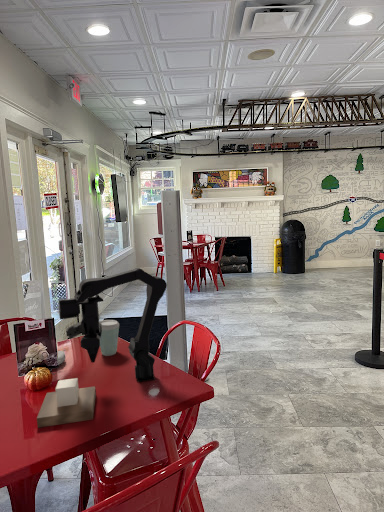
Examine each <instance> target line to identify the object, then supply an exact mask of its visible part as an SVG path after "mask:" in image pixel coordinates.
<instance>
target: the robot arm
mask: <svg viewBox="0 0 384 512" xmlns="http://www.w3.org/2000/svg"><path fill="white" fill-rule="evenodd" d="M135 281H140V282H142V283H143V284H145V285H146V289H145V290H146V291H145V292H146V300H145V303H144V304H145V305H144V308H143V312H142V315H141V319H140V323H139V326H138V330H137V334H136V335H135V336H134V337H130V342H129V345H128V346H127V348H128V351H129V352H128V353H129V354H130V356H131V357H132V359H133V360H134V361H135V362H136V363H135V365H134V374H135V379H136V381H137V383H140V382H148V381H153V380H156V377H155V374H154V373H155V372H154V364H155V360H156V358H154V357H153V356H152V354H151V353H150V342H149V341H150V339H149V338H150V334H151V330H152V328H153V327H152V326H153V323H154V319H155V316H156V312H157V308H158V304H159V302H160V300H161V299H162V298H163V296H164V294H165V292H166V289H167V287H168V284H167V282H166V280H165V279H164V278H161V277H159V276H157V275H151V274H150V273H149V272H148V273H147V272H146V271H144V270H143V269H141V268H140V267H134V268H132V269H129V270H127V271H123V272H119V273H115V274H112V275H108V276H106V277H94V278H93V277H91V278H85V279H82V280H81V281H80V283H79V285H78V290H77V291H76V292H75V295H74V296H73V298H61V299H58V314H59V315H58V316H59V319H60V320H66V319H67V320H68V319H72V318H78V316H80V314H81V320H80V321H79V322H77V323H75V324H72V325H70V326H68V327H66V330H65V333H66V337H68V338H69V340H72V339H73V338H75V337H77V336H79V335H81V336H82V337H81V338H80V348H81V349H84V350H86V351H87V354H88V356H89V360H90V363H93V364H94V363H95V362H96V358H97V356H98V353H99V349H100V338H101V334H102V324H100V323H99V321H100V315H99V312H100V311H99V303H100V302H101V303H102V302H104V298H102V297H101V296H100V294H102V293H103V292H105V291H106V290H108V289H111V288H114V287H117V286H121V285H124V284H128V283H130V282H131V283H132V282H135Z"/></svg>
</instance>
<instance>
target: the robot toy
mask: <svg viewBox="0 0 384 512" xmlns="http://www.w3.org/2000/svg"><path fill="white" fill-rule="evenodd" d="M57 351H58V366H59V365H61V364H62V363H64V362H65V360H66V352H65V351H66V349H63V350H57Z"/></svg>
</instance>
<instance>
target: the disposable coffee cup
mask: <svg viewBox="0 0 384 512" xmlns="http://www.w3.org/2000/svg"><path fill="white" fill-rule="evenodd" d="M99 323H100V324H102V334H101V338H100V347H99V349H100V352H101V354H102V356H105V357H110V356H114V355H116V353H117V350H118V341H119V329H120V323H119V321H117V320H115V319H105V320H104V319H103V320H99Z"/></svg>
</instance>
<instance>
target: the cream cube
mask: <svg viewBox="0 0 384 512" xmlns="http://www.w3.org/2000/svg"><path fill="white" fill-rule="evenodd" d="M55 392H56V399H57V407H62V406H68V405H75V404H77V402H78V398H79V378H78V377H75V378H68V379H67V378H66V379H60V380H58V381H57V384H56V386H55Z"/></svg>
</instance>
